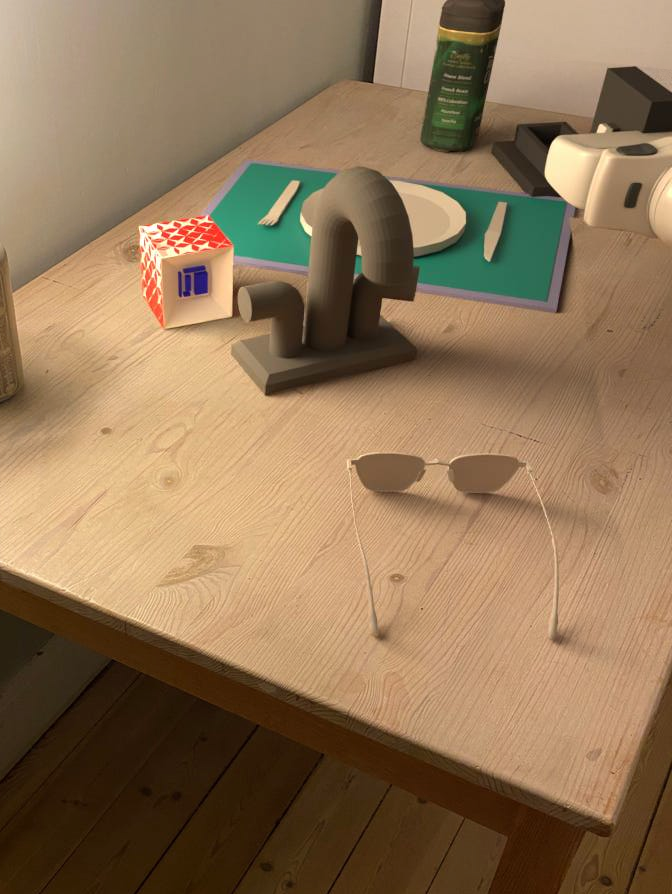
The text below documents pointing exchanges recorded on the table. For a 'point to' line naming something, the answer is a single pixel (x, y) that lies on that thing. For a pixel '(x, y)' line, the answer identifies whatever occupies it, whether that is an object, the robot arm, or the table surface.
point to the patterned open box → (186, 271)
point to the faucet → (336, 291)
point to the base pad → (530, 155)
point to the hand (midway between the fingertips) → (624, 130)
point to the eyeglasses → (465, 476)
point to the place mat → (433, 229)
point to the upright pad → (633, 102)
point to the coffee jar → (461, 73)
